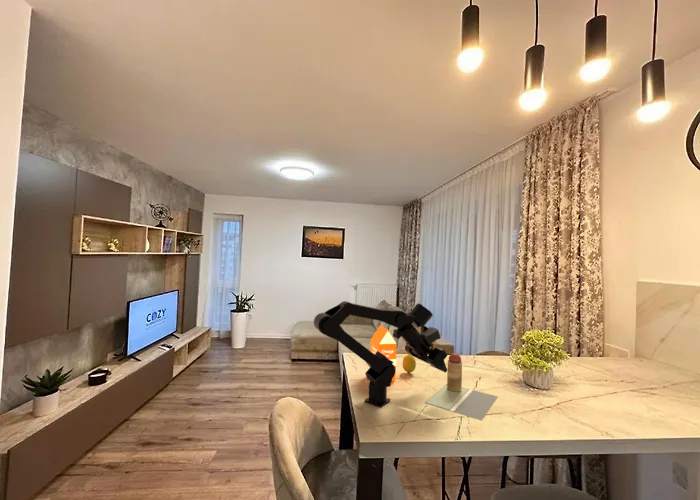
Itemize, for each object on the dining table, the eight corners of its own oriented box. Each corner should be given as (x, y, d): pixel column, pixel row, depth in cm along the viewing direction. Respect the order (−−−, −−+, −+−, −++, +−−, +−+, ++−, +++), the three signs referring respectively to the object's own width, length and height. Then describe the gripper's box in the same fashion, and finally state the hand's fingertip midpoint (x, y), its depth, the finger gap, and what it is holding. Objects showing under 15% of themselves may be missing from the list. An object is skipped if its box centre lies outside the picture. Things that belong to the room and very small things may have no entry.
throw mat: (481, 422, 94) (481, 420, 94) (424, 404, 104) (424, 402, 104) (497, 398, 111) (497, 396, 111) (447, 385, 122) (447, 383, 122)
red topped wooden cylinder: (461, 392, 113) (462, 356, 114) (447, 390, 115) (447, 354, 115) (461, 387, 118) (462, 352, 119) (447, 385, 120) (448, 350, 120)
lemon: (415, 376, 130) (416, 356, 131) (402, 375, 132) (402, 355, 132) (415, 372, 136) (416, 353, 136) (402, 370, 137) (403, 351, 137)
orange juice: (377, 382, 122) (379, 330, 123) (369, 374, 131) (370, 325, 131) (396, 381, 124) (397, 329, 125) (386, 373, 133) (388, 325, 134)
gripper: (443, 325, 104) (469, 357, 108) (412, 316, 122) (436, 343, 125) (422, 351, 101) (449, 383, 105) (393, 337, 119) (418, 365, 122)
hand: (438, 367), depth 114 cm, fingers open, 9 cm apart
